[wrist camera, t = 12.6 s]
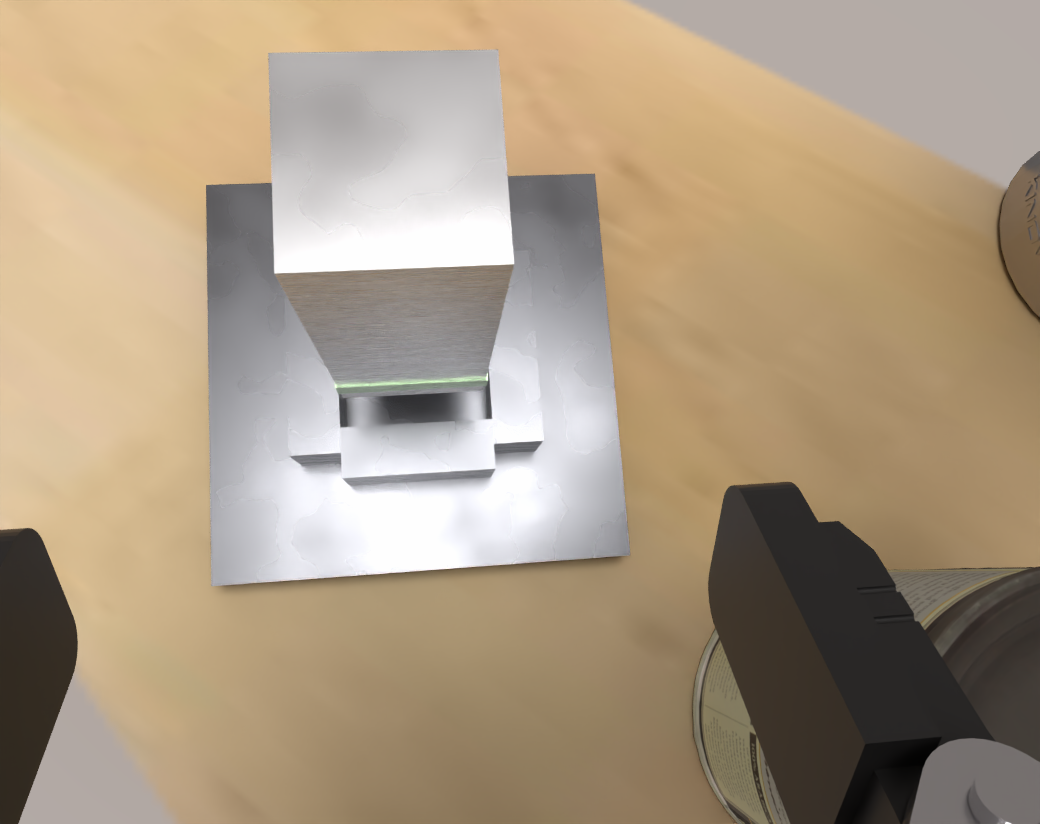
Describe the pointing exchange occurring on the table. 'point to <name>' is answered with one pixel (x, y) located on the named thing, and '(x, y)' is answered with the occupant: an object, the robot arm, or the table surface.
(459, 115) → the steel column
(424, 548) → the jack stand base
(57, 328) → the table surface
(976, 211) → the table surface
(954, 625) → the coffee can
